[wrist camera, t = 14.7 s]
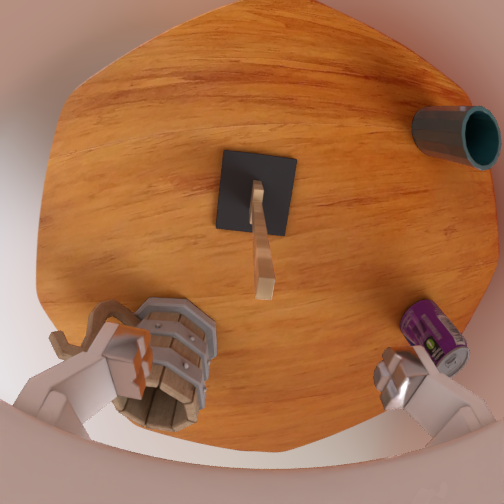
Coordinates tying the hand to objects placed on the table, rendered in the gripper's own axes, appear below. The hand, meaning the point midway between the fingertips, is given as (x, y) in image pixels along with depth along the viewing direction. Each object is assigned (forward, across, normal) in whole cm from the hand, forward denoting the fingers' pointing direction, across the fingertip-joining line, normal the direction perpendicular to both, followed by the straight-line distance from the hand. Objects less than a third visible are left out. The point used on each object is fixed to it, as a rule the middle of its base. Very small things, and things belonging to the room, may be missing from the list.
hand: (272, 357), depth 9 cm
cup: (+25, -21, -12) cm, 35 cm away
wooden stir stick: (+25, 0, 0) cm, 25 cm away
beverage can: (+25, -28, +15) cm, 41 cm away
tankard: (+25, +12, +19) cm, 34 cm away
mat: (+25, 0, 0) cm, 25 cm away
